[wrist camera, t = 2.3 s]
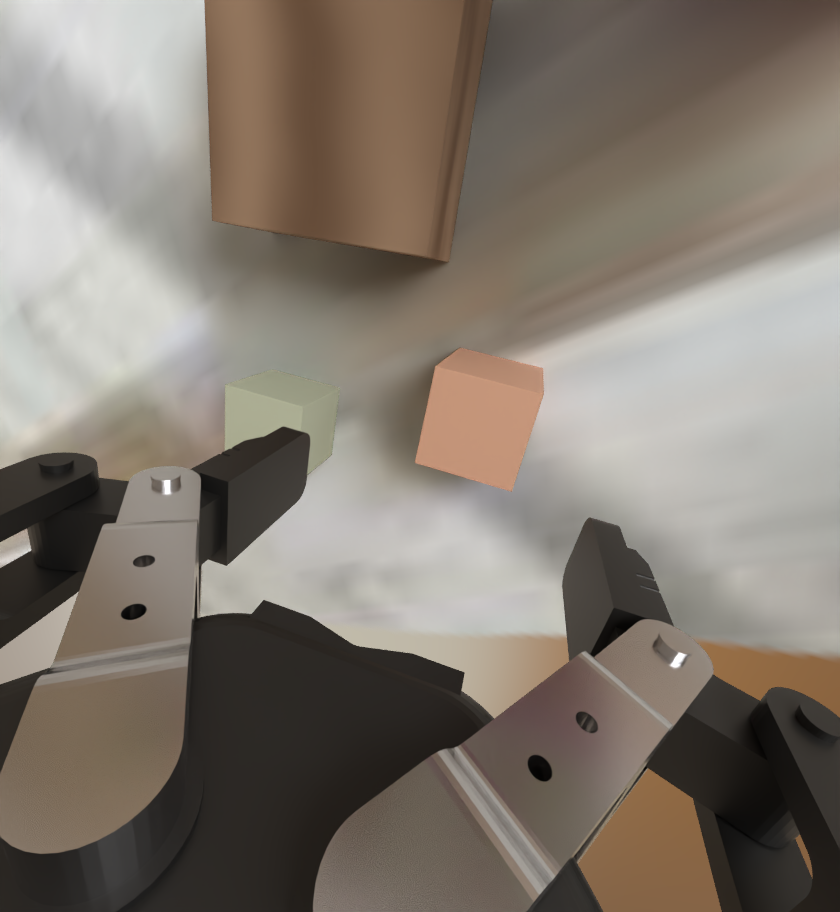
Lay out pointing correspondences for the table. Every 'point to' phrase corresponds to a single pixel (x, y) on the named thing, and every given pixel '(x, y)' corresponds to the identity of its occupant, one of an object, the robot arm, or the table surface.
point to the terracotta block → (480, 417)
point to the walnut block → (343, 117)
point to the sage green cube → (282, 410)
